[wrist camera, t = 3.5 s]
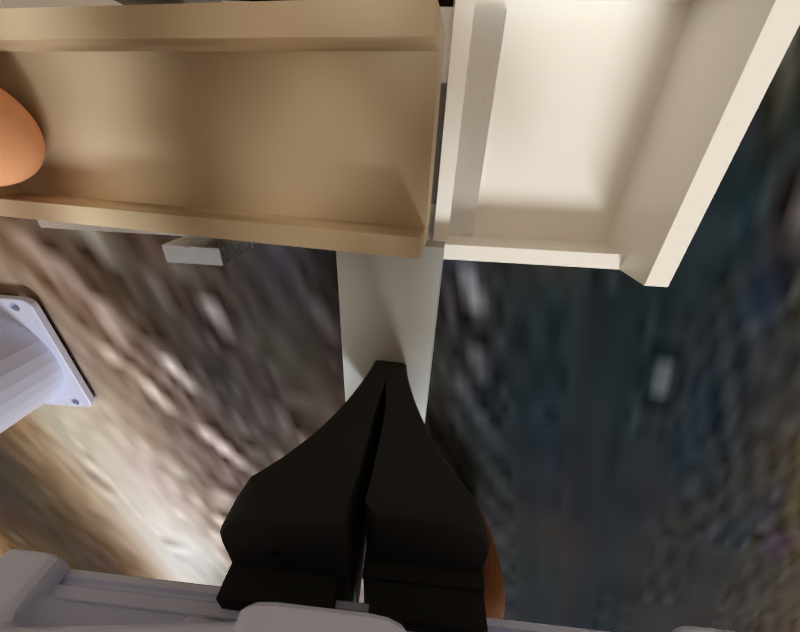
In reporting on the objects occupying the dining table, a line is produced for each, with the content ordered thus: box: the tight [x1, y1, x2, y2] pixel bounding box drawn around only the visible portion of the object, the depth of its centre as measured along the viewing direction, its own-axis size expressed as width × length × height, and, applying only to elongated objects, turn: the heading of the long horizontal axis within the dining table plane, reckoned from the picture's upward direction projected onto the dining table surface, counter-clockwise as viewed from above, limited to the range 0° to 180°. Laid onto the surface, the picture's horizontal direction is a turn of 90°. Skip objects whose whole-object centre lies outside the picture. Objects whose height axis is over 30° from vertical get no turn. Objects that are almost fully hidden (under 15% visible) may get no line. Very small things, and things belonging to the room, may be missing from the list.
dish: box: [433, 0, 800, 287], centre depth 10 cm, size 8×9×4 cm
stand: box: [0, 0, 507, 265], centre depth 11 cm, size 20×8×4 cm, turn 88°
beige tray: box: [0, 0, 445, 424], centre depth 11 cm, size 17×15×3 cm
